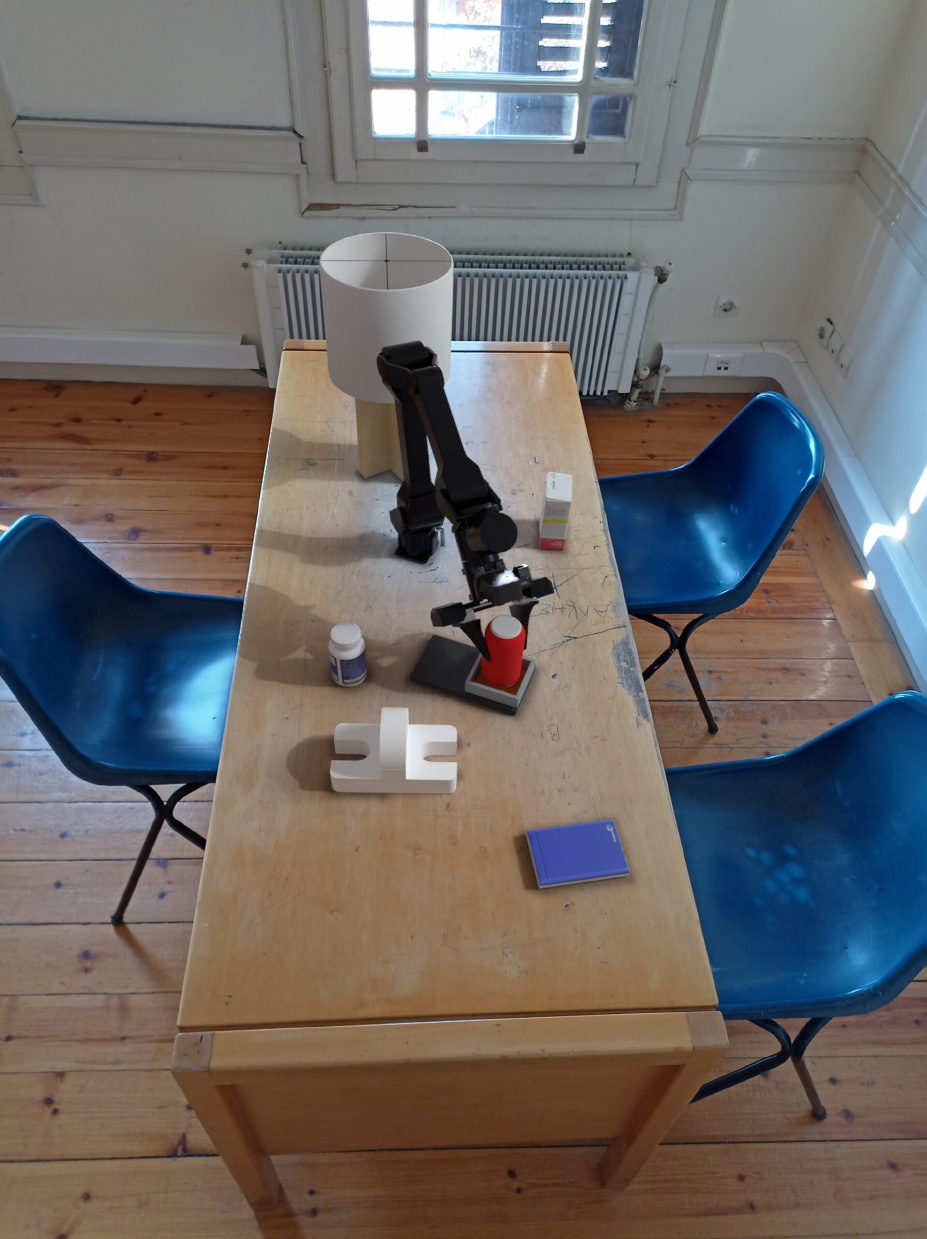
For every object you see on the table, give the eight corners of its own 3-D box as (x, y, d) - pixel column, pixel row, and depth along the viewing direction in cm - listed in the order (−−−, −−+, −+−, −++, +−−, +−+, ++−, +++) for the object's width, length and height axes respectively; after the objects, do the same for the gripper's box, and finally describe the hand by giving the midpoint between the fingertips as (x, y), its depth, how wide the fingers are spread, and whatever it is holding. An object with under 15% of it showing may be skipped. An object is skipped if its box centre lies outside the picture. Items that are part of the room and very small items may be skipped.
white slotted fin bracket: (337, 737, 130) (332, 692, 122) (456, 739, 130) (458, 695, 123) (331, 792, 123) (325, 748, 116) (456, 793, 124) (458, 751, 116)
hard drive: (613, 818, 120) (526, 829, 119) (630, 871, 115) (540, 884, 113) (611, 823, 121) (525, 835, 120) (628, 876, 116) (539, 889, 114)
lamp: (469, 475, 176) (479, 270, 145) (372, 513, 166) (361, 302, 135) (410, 421, 188) (408, 222, 157) (316, 453, 179) (295, 248, 148)
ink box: (564, 551, 161) (572, 501, 152) (538, 549, 161) (545, 499, 152) (564, 522, 167) (572, 472, 158) (539, 520, 167) (546, 470, 158)
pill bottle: (372, 666, 140) (370, 624, 133) (358, 692, 136) (355, 650, 129) (340, 657, 141) (336, 615, 134) (325, 682, 137) (320, 640, 130)
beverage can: (514, 695, 135) (521, 645, 126) (476, 686, 136) (480, 635, 127) (523, 666, 139) (530, 616, 130) (486, 657, 140) (490, 607, 131)
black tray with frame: (409, 681, 138) (409, 667, 136) (433, 638, 145) (433, 624, 142) (515, 715, 134) (517, 702, 132) (534, 670, 140) (537, 657, 138)
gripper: (439, 570, 120) (468, 677, 121) (556, 537, 125) (583, 639, 127) (417, 574, 130) (444, 672, 132) (526, 543, 136) (551, 638, 137)
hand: (506, 655), depth 132 cm, fingers closed on beverage can, 6 cm apart
